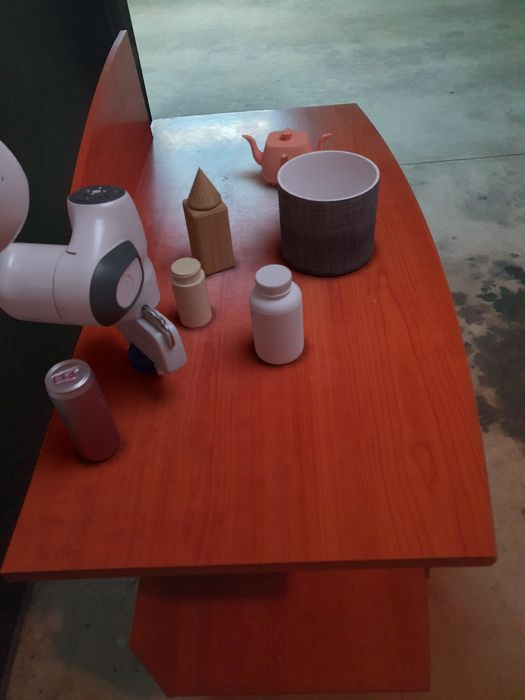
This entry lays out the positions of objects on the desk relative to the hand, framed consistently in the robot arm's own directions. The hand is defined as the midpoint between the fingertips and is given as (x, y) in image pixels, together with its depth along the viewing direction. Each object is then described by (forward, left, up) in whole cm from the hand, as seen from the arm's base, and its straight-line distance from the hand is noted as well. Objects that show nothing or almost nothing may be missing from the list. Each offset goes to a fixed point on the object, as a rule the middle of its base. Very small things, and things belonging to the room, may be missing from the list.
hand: (148, 359), depth 91 cm
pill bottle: (+21, -2, -2) cm, 21 cm away
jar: (+9, +10, -2) cm, 13 cm away
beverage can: (-8, -14, -2) cm, 16 cm away
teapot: (+35, +50, -2) cm, 61 cm away
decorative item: (+14, +24, -2) cm, 28 cm away
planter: (+36, +22, -2) cm, 42 cm away
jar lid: (0, 0, +2) cm, 2 cm away
